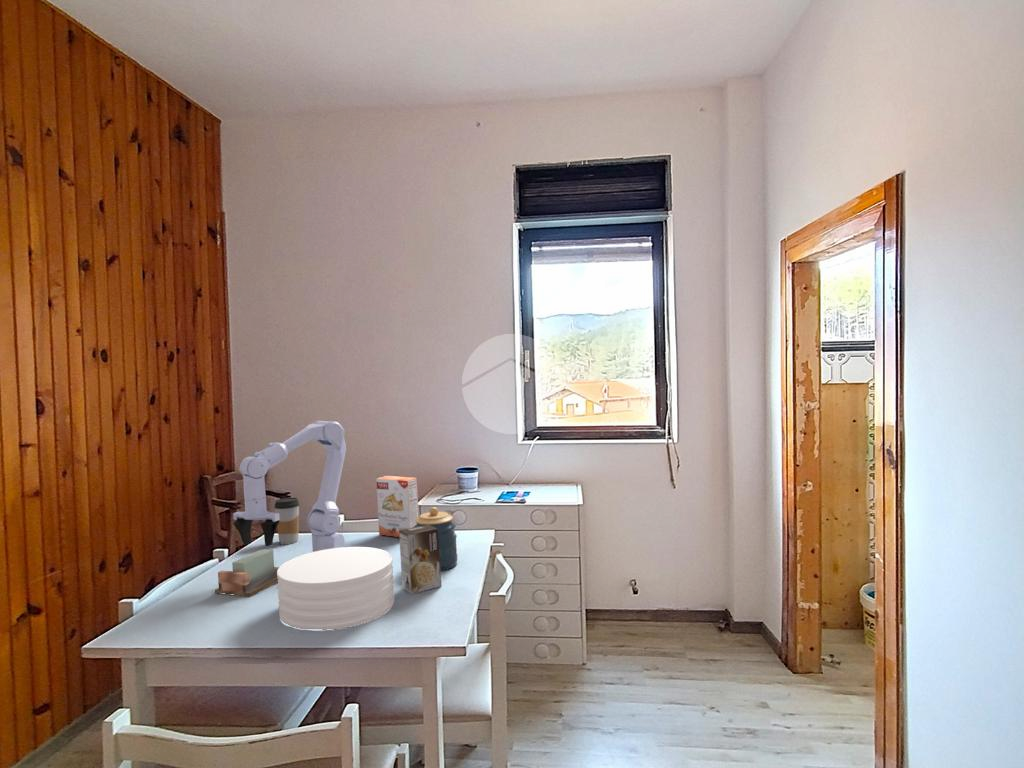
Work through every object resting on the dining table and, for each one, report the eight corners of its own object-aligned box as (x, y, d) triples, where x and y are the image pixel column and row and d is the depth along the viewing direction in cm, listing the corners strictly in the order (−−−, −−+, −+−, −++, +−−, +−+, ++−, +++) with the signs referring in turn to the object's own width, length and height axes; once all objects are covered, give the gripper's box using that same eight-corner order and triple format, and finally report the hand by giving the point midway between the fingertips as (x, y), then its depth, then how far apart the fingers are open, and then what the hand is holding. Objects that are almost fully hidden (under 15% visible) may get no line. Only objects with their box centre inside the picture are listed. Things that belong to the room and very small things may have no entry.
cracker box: (378, 536, 222) (375, 478, 221) (389, 531, 227) (386, 475, 227) (409, 540, 216) (407, 480, 215) (420, 535, 221) (417, 476, 220)
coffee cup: (296, 545, 215) (293, 502, 215) (272, 545, 215) (270, 502, 215) (304, 538, 223) (302, 496, 223) (281, 538, 224) (279, 497, 223)
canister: (407, 571, 183) (404, 512, 182) (424, 557, 195) (421, 501, 195) (449, 573, 180) (446, 512, 179) (463, 559, 192) (461, 502, 192)
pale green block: (274, 573, 183) (273, 550, 182) (245, 588, 171) (244, 563, 171) (263, 572, 184) (261, 549, 183) (233, 587, 172) (232, 562, 172)
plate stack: (279, 598, 166) (277, 556, 165) (384, 581, 176) (383, 541, 175) (279, 641, 140) (276, 590, 139) (403, 618, 149) (401, 571, 149)
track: (297, 572, 186) (296, 552, 186) (250, 596, 167) (249, 574, 167) (264, 569, 190) (263, 550, 190) (214, 593, 171) (213, 571, 171)
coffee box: (431, 580, 174) (429, 523, 174) (442, 586, 169) (439, 528, 168) (401, 588, 169) (398, 529, 169) (411, 595, 164) (408, 534, 163)
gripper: (224, 500, 178) (227, 547, 179) (266, 502, 174) (269, 550, 174) (242, 495, 185) (244, 540, 185) (283, 496, 181) (285, 542, 181)
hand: (258, 544), depth 180 cm, fingers open, 7 cm apart
